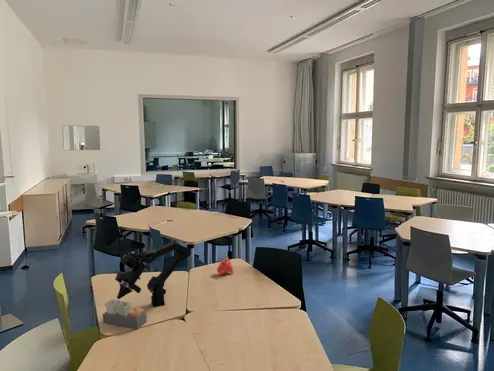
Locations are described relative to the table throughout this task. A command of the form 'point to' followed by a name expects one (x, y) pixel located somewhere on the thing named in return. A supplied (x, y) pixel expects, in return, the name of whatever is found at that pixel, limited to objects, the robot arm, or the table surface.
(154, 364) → the table surface
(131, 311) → the key three dots
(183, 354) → the table surface
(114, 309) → the key one dot
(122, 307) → the key two dots
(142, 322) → the key console
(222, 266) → the anatomical heart
